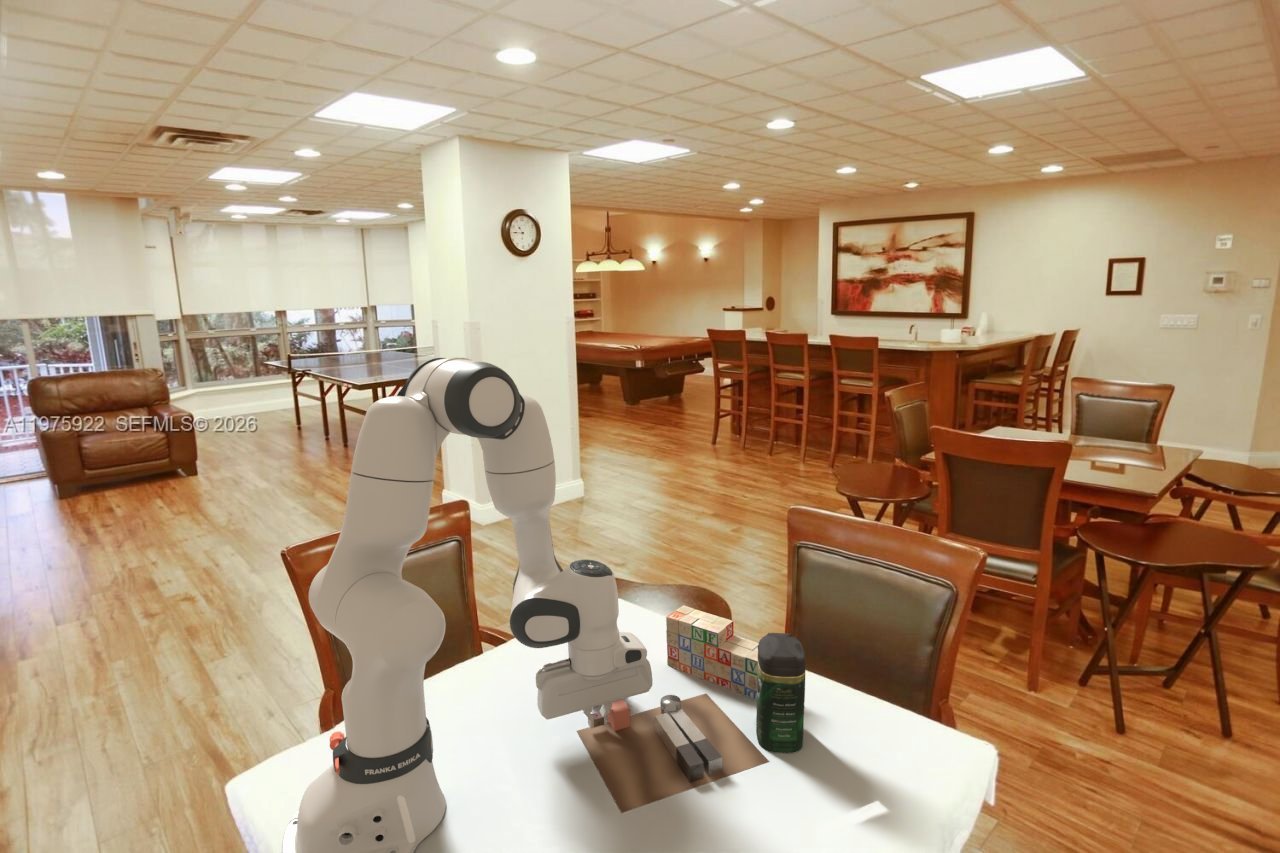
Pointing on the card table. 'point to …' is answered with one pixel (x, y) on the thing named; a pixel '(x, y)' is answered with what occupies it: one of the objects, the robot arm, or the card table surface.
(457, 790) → the card table surface
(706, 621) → the stack of blocks
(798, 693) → the coffee jar
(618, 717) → the tab
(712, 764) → the tongs fixed arm
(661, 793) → the board
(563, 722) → the card table surface
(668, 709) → the tongs arm
